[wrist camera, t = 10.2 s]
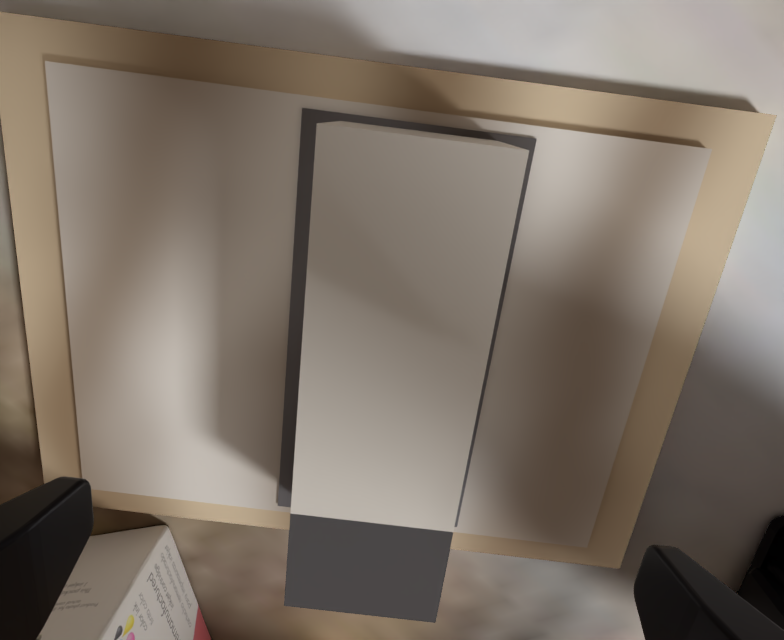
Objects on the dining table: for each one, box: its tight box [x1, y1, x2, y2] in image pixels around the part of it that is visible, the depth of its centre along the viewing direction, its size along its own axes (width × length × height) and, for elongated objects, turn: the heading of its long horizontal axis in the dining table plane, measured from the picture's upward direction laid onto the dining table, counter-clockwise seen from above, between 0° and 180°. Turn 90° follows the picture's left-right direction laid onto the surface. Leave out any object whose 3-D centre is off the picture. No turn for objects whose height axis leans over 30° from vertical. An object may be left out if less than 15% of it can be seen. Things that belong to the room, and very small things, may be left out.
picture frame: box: [0, 12, 777, 569], centre depth 17 cm, size 20×15×1 cm
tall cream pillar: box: [284, 121, 529, 623], centre depth 14 cm, size 4×12×4 cm, turn 173°
